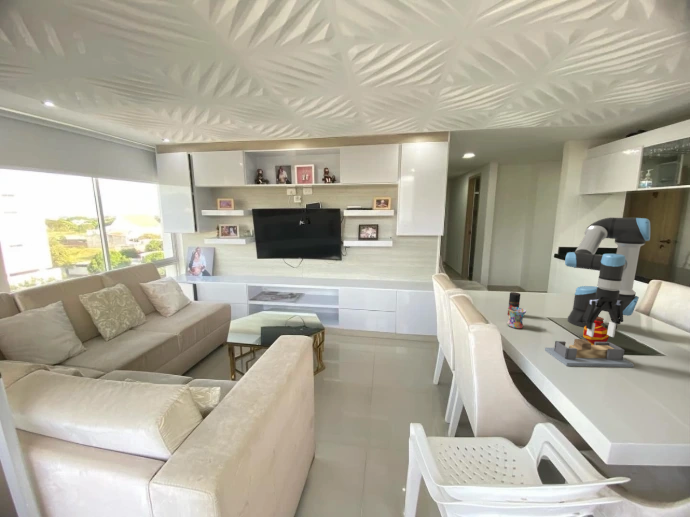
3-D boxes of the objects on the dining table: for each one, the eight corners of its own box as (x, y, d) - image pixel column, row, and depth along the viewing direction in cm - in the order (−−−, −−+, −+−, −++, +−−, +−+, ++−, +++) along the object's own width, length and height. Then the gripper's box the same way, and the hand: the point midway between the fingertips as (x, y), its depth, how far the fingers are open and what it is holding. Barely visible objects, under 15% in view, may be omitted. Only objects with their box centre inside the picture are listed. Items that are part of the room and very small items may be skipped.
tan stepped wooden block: (606, 353, 131) (609, 339, 130) (615, 358, 127) (618, 344, 126) (568, 352, 132) (570, 338, 130) (575, 357, 127) (578, 343, 126)
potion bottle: (602, 352, 135) (607, 323, 133) (576, 343, 144) (581, 316, 142) (611, 347, 140) (616, 319, 137) (586, 339, 149) (591, 312, 146)
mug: (522, 331, 159) (524, 313, 157) (504, 326, 165) (506, 309, 163) (526, 324, 168) (528, 308, 166) (509, 320, 174) (510, 304, 172)
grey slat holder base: (604, 351, 136) (606, 338, 135) (633, 367, 122) (635, 353, 121) (544, 350, 137) (546, 338, 136) (566, 365, 123) (568, 352, 122)
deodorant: (505, 313, 186) (507, 292, 183) (513, 313, 186) (516, 292, 183) (511, 317, 180) (514, 294, 177) (520, 316, 180) (522, 294, 178)
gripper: (624, 286, 127) (616, 332, 131) (577, 285, 128) (570, 331, 132) (641, 291, 120) (631, 339, 124) (591, 290, 120) (583, 339, 124)
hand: (600, 335), depth 128 cm, fingers open, 9 cm apart
